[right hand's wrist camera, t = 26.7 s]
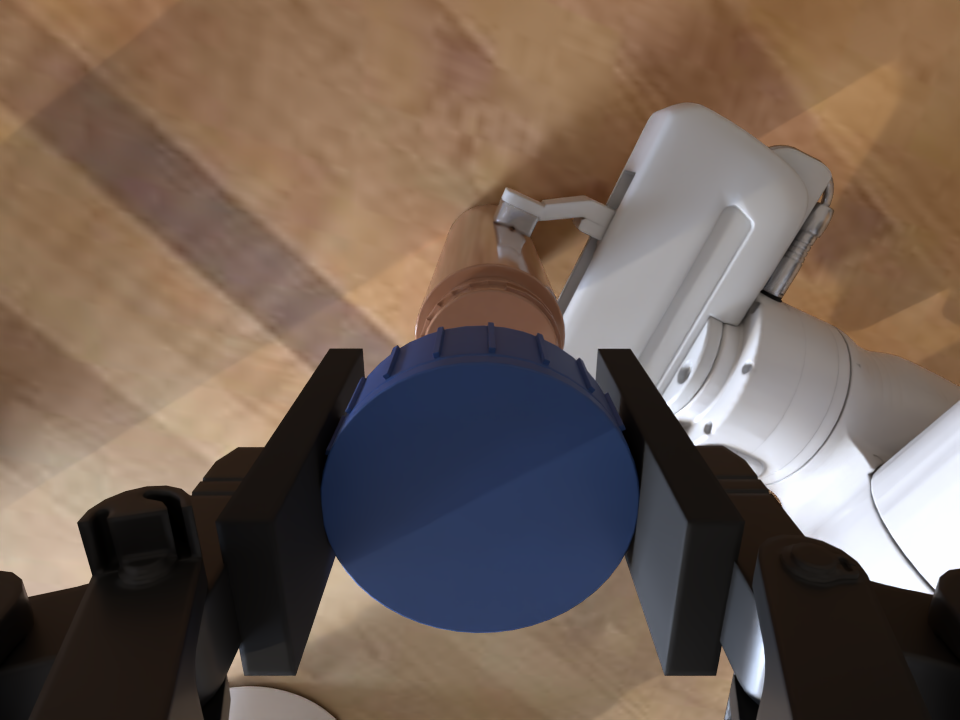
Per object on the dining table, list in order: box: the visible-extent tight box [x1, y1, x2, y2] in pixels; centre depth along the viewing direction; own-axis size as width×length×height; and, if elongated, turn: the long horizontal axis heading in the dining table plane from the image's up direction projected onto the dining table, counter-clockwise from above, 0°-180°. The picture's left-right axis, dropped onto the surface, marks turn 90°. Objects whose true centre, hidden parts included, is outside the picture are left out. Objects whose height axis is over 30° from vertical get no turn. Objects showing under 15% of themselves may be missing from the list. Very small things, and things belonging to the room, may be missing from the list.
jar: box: [415, 204, 565, 350], centre depth 26 cm, size 5×5×18 cm
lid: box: [320, 322, 640, 633], centre depth 11 cm, size 6×6×2 cm
